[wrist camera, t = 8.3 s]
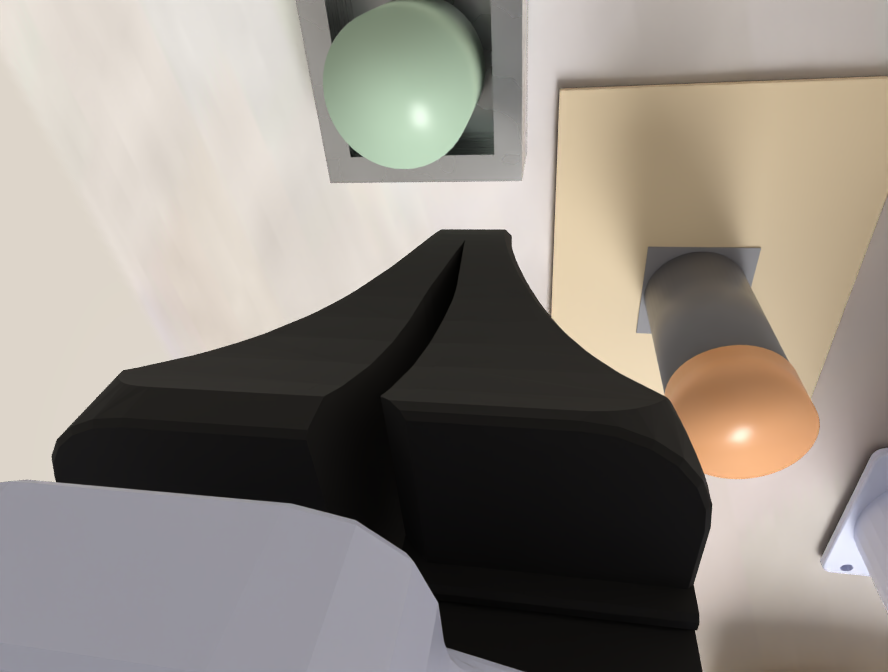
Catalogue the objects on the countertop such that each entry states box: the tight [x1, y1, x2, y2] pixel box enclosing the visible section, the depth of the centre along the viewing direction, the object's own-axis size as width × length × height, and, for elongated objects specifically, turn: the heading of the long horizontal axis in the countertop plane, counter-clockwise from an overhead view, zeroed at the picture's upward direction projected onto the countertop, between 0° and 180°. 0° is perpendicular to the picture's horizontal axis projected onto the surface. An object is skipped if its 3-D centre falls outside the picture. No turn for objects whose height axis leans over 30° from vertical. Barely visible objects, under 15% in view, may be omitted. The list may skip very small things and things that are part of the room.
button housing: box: [296, 0, 528, 183], centre depth 17 cm, size 6×6×2 cm
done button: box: [323, 0, 486, 169], centre depth 16 cm, size 4×4×3 cm
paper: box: [551, 76, 888, 399], centre depth 21 cm, size 10×14×1 cm
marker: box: [645, 252, 820, 479], centre depth 18 cm, size 4×4×7 cm
